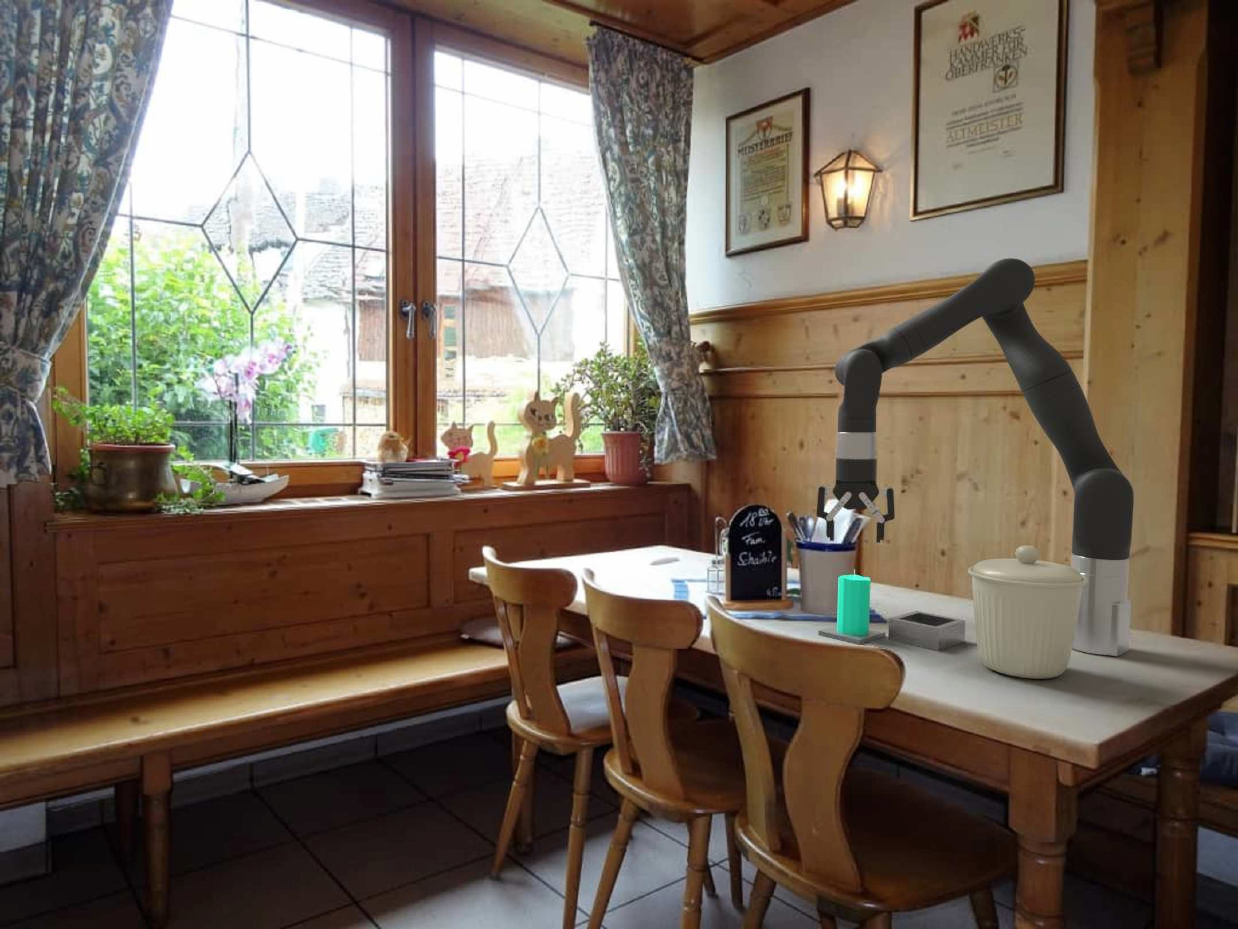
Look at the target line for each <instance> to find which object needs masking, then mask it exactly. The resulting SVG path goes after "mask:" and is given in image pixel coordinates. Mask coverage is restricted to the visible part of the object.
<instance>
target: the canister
mask: <svg viewBox="0 0 1238 929" xmlns="http://www.w3.org/2000/svg"><path fill="white" fill-rule="evenodd" d="M1039 556H1040V551H1039V550H1038V549H1037V548H1036V547H1035V546H1032V545H1020V546H1019V547H1017V548H1016V550H1015V558H991V559H985V560H982V561H981V560H980V561H978V562H977V563H976V564H974V565H972V566H969V567H968V568H967V572H968V574H969V575H970V576H971V581H972V584H971V585H972V586H971V587H972V600H973V609H974V610H973V611H974V623H975V625H974V626H975V634H976V642H977V643H976V644H977V650H978V651H977V652H978V654H979V658H980V660H981V662H982V663H983V664H984V666H986V667H988V669H990V670H992V671H995V672H997V673H1001V675H1005V676H1006V675H1007V676H1011V677H1017V678H1021V679H1022V678H1023V679H1033V680H1035V679H1037V680H1039V679H1043V680H1044V679H1052V678H1056V677H1059V676H1060V675H1062V674H1063V673H1064V672H1065V671H1066V669H1067V668H1068V666H1069V663H1070V660H1071V655H1072V650H1073V648H1072V646H1073V641H1074V636H1075V631H1076V625H1077V619H1078V613H1079V607H1080V602H1081V595H1082V589H1083V585H1085V584H1086V583H1087V582H1088V578H1087V577H1086V576H1084V575H1081V574H1080V573H1079V572H1078V571H1077V570H1075V569H1073V568H1071V566H1068V565H1065V564H1060V563H1056V562H1051V561H1046V560H1039Z"/></svg>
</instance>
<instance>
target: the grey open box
mask: <svg viewBox="0 0 1238 929" xmlns="http://www.w3.org/2000/svg"><path fill="white" fill-rule="evenodd" d="M887 637H888V639H887V640H890V641H894V642H898V643H903V644H907V645H911V646H914V647H920V648H924V649H929V650H933V651H941V650H945V649H946V648H950V647H953V646H955V645H959V644H961V643H964V642H965V640H966V639H965V638H966V620H965V619H960V618H955V617H949V616H945V615H939V614H935V613H930V612H924V611H918V610H914V611H910V612H907V613H903V614H901V615H897V616H893V617H890V618H889V617H888V636H887Z"/></svg>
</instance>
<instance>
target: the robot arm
mask: <svg viewBox="0 0 1238 929" xmlns="http://www.w3.org/2000/svg"><path fill="white" fill-rule="evenodd" d="M1035 276H1036V275H1035V271H1034V270H1033V269H1032V267H1031V266H1030V264H1028V263H1027V262H1025V261H1023V260H1022V259H1019V258H1012V257H1011V258H1010V257H1008V258H1003V259H999V260H997V261H994V262H993V263H992V264H990V265H989V266H988V267H987V268H986V269H985V270H984V271H983V272H982V273H981V274H980V275H979V276H977V277H976V278H975V279H974V280H972V281H971V282H970V283H969V284H967V285H966V286H964V287H963V288H961V289H960V290H958V291H957V292H955V293H954V294H952V295H951V296H949V297H946V298H945V299H943V300H942V301H940V302H938V303H936V304H935V305H932V306H930V307H929V308H927V309H925V310H923V311H921V312H919V313H917V314H915V315H914V316H912V317H910V318H909V319H908V318H907V319H906V320H905V321H903V322H901V323H900V324H897V325H895V326H893V327H892V328H891V329H889V330H887V331H886V332H884V333H883V334H882V335H879V336H878V337H877V338H874V339H872V340H869V341H868V342H866V343H864V344H861V345H859V346H857V347H855V348H852V349H851V350H850V351H847V352H845V353H844V354H843V355H842V356H840V357H839V358H838V360H837V361H836V364H835V367H834V375H835V378H836V380H837V382H838V383H839V384H841V385H842V386H844V389H843V398H842V399H843V400H842V402H841V403H840V405H839V408H838V413H837V436H836V443H835V444H836V445H835V454H834V455H835V483H834V486H833V487H831V486H825V485H821V486H819V487H818V490H817V491H818V492H817V500H816V501H817V502H816V503H817V504H816V517H817V518H821V519H823V520H825V522H826V525H825V526H826V527H825V532H826V533H825V535H826V538H828V539H829V542H833V541H835V524H836V523H835V520H834V518H835V517H836V516H837V514H838V513H839V512H840V510H841V511H842V509H843V508H844V510H847V511H853V510H857V511H865V510H867V509H868V510H869V512H870V513H871V514H872V516H873V517H874V518H875V520H877V521H876V544H877V543H879V544H880V543H881V541H883V540H884V538H885V524H886V523H887V522H889V521H892V520H895V513H896V512H895V496H894V495H895V493H894V491H895V490H894V488H893V487H892V486H890V487H888V488H879V487H878V485H877V476H878V475H877V474H878V472H877V471H878V440H877V405H878V402H879V398H880V397H879V396H880V393H881V392H880V391H881V386H882V379H883V374H884V373H886V372H888V371H889V370H891V369H893V368H897V367H901V366H903V365H906V364H907V363H908V362H911V361H912V360H914V359H916V358H917V357H920V356H921V355H924V354H925V353H927V352H928V351H930V350H932V349H933V348H934V347H937V346H938V345H940V344H941V343H942V342H944V341H945V340H947V339H948V338H950V337H951V336H952V335H954V334H956V333H957V332H959V330H962V329H963V328H965V327H966V326H968V325H969V324H971V323H973V322H975V321H977V320H979V319H981V318H982V320H983V321H984V322H985V325H986V326H987V327H988V328H989V330H990V332H991V333H992V335H993V336H994V338H995V340H996V342H997V343H998V345H999V346H1000V349H1001V351H1002V353H1003V355H1004V358H1005V360H1006V361H1007V363H1008V366H1009V367H1010V369H1011V371H1012V374H1013V376H1014V377H1015V379H1016V380H1015V381H1016V382H1017V384H1018V387H1019V389H1020V391H1021V393H1022V395H1023V397H1024V399H1025V400H1026V403H1027V405H1028V407H1029V408H1030V411H1031V413H1032V415H1033V417H1035V420H1036V421H1037V423H1038V425H1039V426H1040V427H1041V429H1042V431H1043V432H1044V433H1045V435H1046V436H1047V437H1048V439H1049V440H1050V442H1051V443H1052V444H1053V445H1054V447H1055V449H1056V450H1057V451H1058V454H1059V456H1060V458H1061V460H1062V462H1063V465H1064V467H1065V470H1066V472H1067V475H1068V477H1069V480H1070V483H1071V486H1072V488H1073V494H1074V496H1073V498H1074V499H1073V517H1072V519H1073V521H1072V540H1071V556H1070V557H1071V561H1070V562H1071V563H1070V567H1071V568H1073V569H1075V570H1077V571H1078V572H1079V573H1080V574H1081V575H1084V576H1086V577H1087V578H1088V582H1087V583H1086V584H1085V585H1083V589H1082V595H1081V602H1080V607H1079V613H1078V619H1077V625H1076V631H1075V636H1074V641H1073V646H1072V650H1076V651H1079V652H1083V653H1086V654H1087V653H1088V654H1094V655H1102V656H1103V655H1104V656H1113V657H1119V656H1121V655H1123V654H1125V653H1126V652H1129V651H1130V635H1131V634H1130V633H1131V616H1132V615H1131V614H1132V613H1131V612H1132V599H1130V598H1128V593H1129V592H1128V591H1129V573H1130V572H1129V571H1130V554H1131V553H1130V552H1131V545H1132V533H1133V519H1134V518H1133V517H1134V505H1135V504H1134V500H1135V499H1134V498H1135V497H1134V496H1135V495H1134V488H1133V485H1132V483H1131V482H1130V481H1129V479H1128V478H1127V477H1126V476H1125V475H1124V474H1123V473H1122V471H1121V470H1120V468H1119V467H1118V466H1117V464H1116V463H1115V461H1114V460H1113V458H1112V457H1111V454H1110V453H1109V452H1108V450H1107V448H1106V447H1105V445H1104V443H1103V442H1102V439H1101V437H1100V435H1099V433H1098V430H1097V427H1096V423H1095V421H1094V417H1093V415H1092V414H1093V413H1092V411H1091V409H1090V405H1089V402H1088V400H1087V397H1086V396H1085V392H1084V391H1083V389H1082V386H1081V385H1080V384H1081V383H1079V381H1078V378H1077V376H1076V375H1075V372H1074V370H1073V369H1072V367H1071V365H1070V364H1069V363H1068V361H1067V359H1066V358H1065V357H1064V356H1063V355H1062V354H1061V353H1060V352H1059V351H1058V350H1057V349H1056V348H1055V347H1054V346H1053V345H1052V344H1050V343H1049V342H1048V341H1047V339H1045V338H1044V337H1043V336H1042V335H1041V334H1040V333H1039V331H1038V330H1037V329H1036V327H1035V326H1034V324H1033V323H1032V320H1031V317H1030V316H1029V313H1028V312H1027V308H1026V306H1025V304H1024V303H1025V302H1026V301H1027V300H1028V298H1029V297H1030V296H1031V294H1032V293H1033V291H1034V288H1035V285H1036V277H1035ZM830 494H833V496H834V497H835V498H836V499H837V503H836V504H835V505H834V506H833V508H832V509H831V510H830V511H829V512H828V511H825V502H826V499H827V498H829V497H830ZM879 495H881V496H882V499H883V500H885V501H886V505H887V506H886V508H887V513H885V514H883V513H882V512H881V511H880V509H879V508H878V506H877V505H876V504H875V503H874V501H875V499H877V498H878V496H879Z"/></svg>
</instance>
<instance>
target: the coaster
mask: <svg viewBox="0 0 1238 929" xmlns="http://www.w3.org/2000/svg"><path fill="white" fill-rule="evenodd" d="M817 633H818V635H819V636H823V637H826V638H830V639H835V640H839V641H843V642H847V643H852V644H856V645H862V644H864V643H863V642H866V643H869V642H872V641H875V640H878V639H881V638H882V639H883V638H885V637H886V634H887V633H886V631H881V630H878V629H873V628H869V633H868V634H866V635H847V634H842V633H840V632H838V631H837V625H834V626H830V627H827V628H822V629H819V630H818V632H817Z"/></svg>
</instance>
